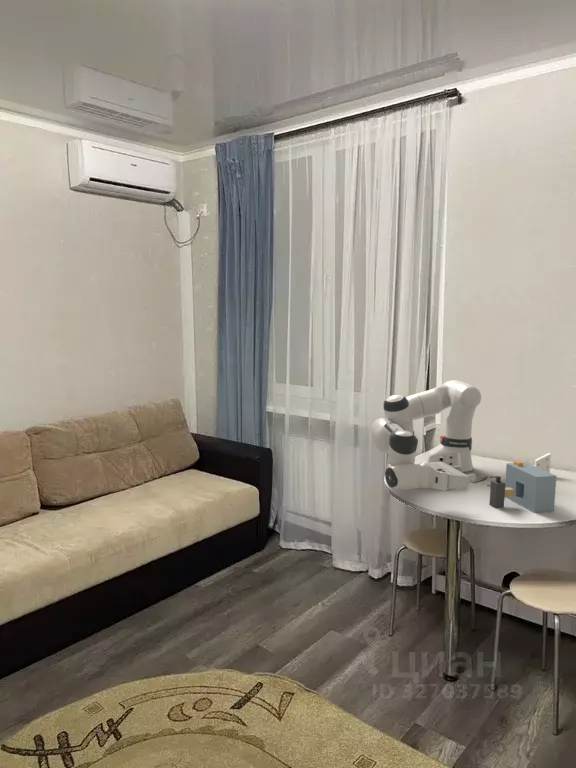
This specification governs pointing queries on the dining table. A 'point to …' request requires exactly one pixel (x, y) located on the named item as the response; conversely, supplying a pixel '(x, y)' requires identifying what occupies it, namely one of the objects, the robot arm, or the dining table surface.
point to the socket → (531, 486)
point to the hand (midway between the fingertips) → (467, 472)
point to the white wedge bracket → (543, 462)
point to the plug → (499, 493)
